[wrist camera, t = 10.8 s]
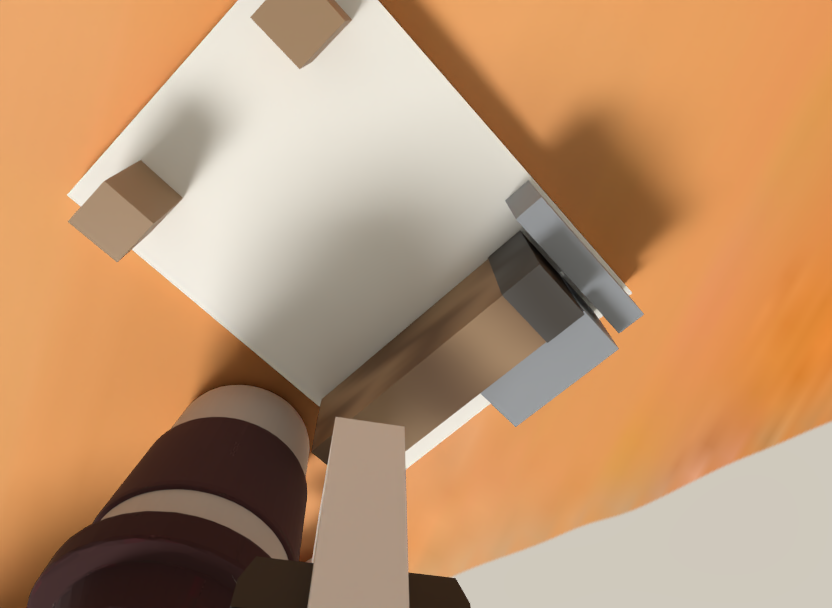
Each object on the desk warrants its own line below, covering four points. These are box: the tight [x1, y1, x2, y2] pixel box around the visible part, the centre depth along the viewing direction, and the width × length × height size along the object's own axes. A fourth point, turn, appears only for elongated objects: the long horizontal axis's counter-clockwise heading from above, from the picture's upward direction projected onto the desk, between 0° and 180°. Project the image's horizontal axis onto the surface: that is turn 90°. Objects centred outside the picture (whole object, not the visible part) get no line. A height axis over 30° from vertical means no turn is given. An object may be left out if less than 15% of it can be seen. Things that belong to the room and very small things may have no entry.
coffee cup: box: [27, 385, 309, 608], centre depth 30 cm, size 10×10×15 cm
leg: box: [311, 231, 584, 464], centre depth 31 cm, size 14×3×5 cm, turn 133°
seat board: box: [67, 0, 644, 469], centre depth 30 cm, size 22×16×5 cm
